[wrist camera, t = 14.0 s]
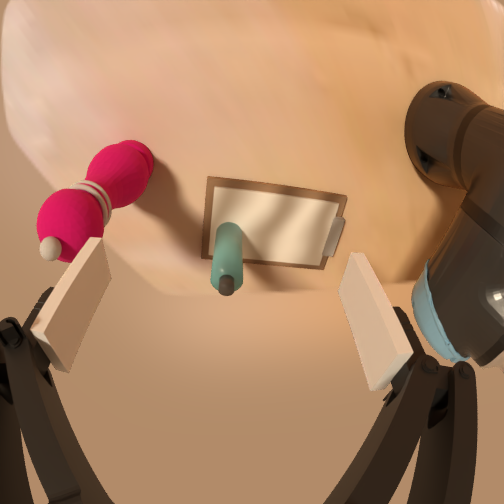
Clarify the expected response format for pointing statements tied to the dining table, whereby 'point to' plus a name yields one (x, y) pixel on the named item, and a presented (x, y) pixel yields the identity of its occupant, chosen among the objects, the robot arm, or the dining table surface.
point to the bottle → (227, 259)
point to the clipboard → (274, 221)
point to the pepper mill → (93, 199)
